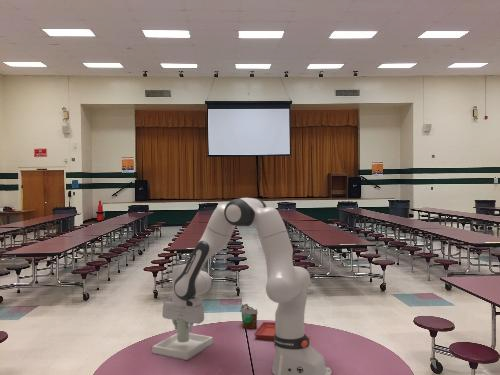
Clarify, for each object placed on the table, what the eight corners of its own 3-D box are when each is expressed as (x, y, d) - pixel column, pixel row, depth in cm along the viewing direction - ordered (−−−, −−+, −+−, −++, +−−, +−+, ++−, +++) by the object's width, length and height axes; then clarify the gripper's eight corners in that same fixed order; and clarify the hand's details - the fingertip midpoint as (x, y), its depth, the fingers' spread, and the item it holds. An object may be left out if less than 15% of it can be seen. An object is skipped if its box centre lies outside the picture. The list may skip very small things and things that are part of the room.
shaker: (191, 339, 191) (190, 313, 190) (184, 343, 186) (184, 316, 186) (181, 337, 193) (181, 311, 193) (175, 341, 188) (174, 314, 188)
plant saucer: (253, 340, 198) (253, 333, 198) (263, 328, 215) (263, 321, 215) (292, 344, 193) (292, 336, 193) (299, 330, 210) (299, 324, 210)
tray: (213, 343, 194) (212, 337, 194) (187, 360, 176) (187, 353, 176) (180, 337, 202) (180, 331, 202) (152, 353, 184) (152, 346, 184)
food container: (236, 324, 220) (236, 305, 220) (247, 322, 223) (247, 303, 223) (246, 331, 209) (246, 311, 209) (257, 329, 211) (257, 309, 211)
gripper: (159, 298, 191) (159, 329, 191) (197, 303, 182) (198, 336, 182) (167, 294, 197) (168, 325, 197) (205, 299, 187) (206, 331, 188)
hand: (183, 330), depth 189 cm, fingers closed on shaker, 5 cm apart
